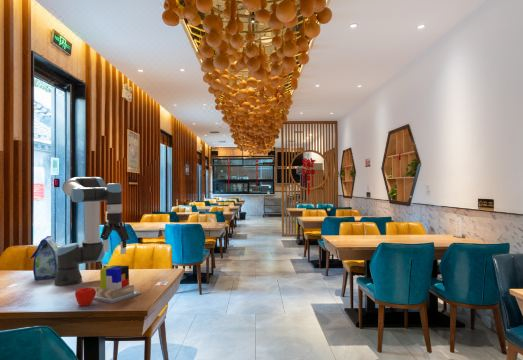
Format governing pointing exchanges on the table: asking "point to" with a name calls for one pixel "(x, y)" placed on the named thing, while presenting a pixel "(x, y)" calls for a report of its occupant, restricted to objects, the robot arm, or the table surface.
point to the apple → (85, 296)
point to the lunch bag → (45, 259)
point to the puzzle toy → (114, 277)
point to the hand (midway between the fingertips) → (114, 253)
